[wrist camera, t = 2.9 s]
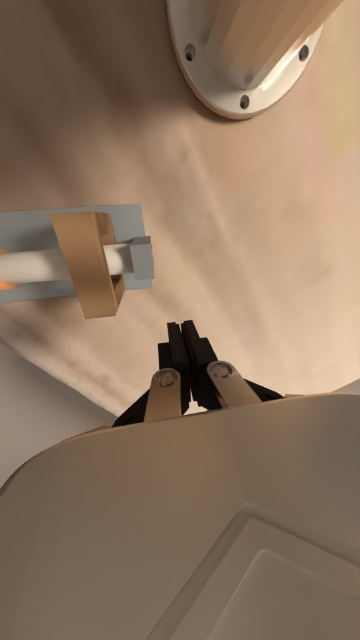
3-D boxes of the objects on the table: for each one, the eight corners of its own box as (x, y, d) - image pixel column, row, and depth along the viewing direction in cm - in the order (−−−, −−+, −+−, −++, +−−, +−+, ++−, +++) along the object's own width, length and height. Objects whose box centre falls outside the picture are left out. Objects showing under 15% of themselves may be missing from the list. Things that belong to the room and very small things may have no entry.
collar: (84, 214, 18) (48, 213, 12) (110, 213, 18) (88, 211, 12) (104, 289, 22) (85, 319, 15) (125, 287, 22) (115, 315, 16)
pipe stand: (-73, 217, 18) (-205, 217, 11) (146, 203, 20) (143, 197, 13) (-19, 301, 23) (-92, 338, 16) (156, 284, 24) (158, 310, 18)
